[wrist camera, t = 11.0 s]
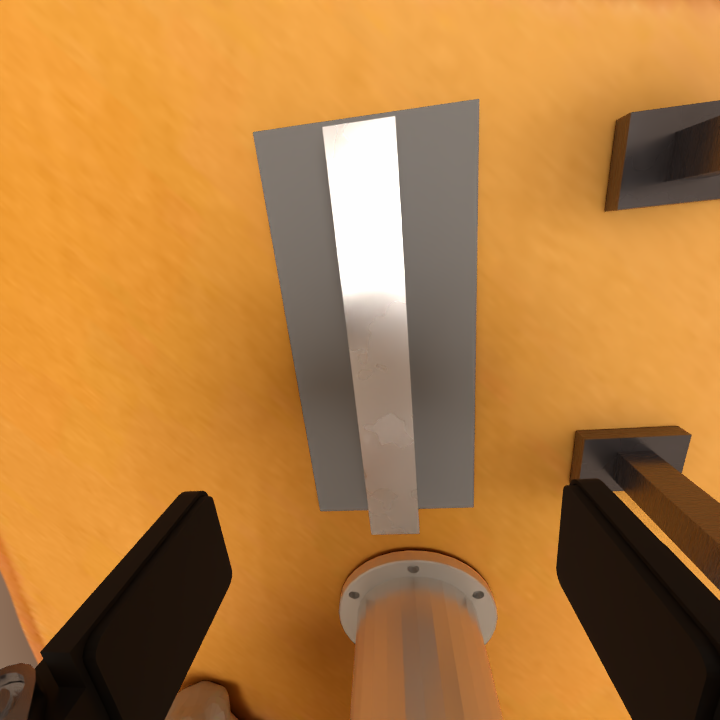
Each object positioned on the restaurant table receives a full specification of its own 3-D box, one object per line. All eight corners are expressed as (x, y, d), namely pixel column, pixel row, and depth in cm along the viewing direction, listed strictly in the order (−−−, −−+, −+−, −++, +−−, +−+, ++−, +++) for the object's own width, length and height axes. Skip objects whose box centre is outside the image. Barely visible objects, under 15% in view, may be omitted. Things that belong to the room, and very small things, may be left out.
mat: (471, 502, 24) (473, 507, 23) (321, 506, 25) (320, 511, 24) (476, 103, 16) (479, 98, 15) (256, 135, 17) (252, 132, 17)
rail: (415, 498, 23) (419, 533, 21) (373, 499, 24) (371, 534, 21) (393, 137, 16) (395, 116, 13) (332, 146, 17) (322, 126, 14)
